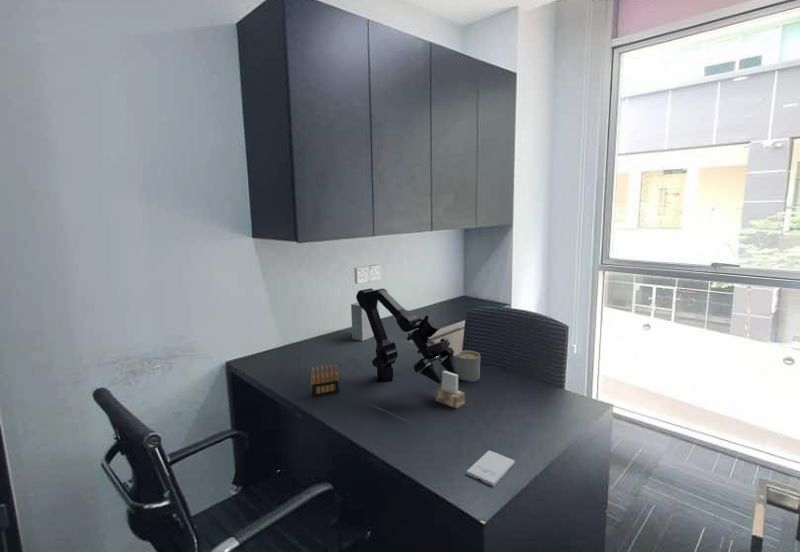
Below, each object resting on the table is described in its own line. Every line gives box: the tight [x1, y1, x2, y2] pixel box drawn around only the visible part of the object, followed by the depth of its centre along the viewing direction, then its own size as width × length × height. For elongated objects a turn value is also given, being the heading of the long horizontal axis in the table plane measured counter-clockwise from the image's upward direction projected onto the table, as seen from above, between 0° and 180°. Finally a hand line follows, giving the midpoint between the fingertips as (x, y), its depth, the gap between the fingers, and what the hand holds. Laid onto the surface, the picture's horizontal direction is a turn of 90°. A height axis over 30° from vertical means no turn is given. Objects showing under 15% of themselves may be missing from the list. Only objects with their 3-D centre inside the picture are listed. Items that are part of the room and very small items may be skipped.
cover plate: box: [441, 370, 459, 395], centre depth 148 cm, size 6×2×11 cm, turn 48°
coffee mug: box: [454, 350, 481, 383], centre depth 173 cm, size 13×10×10 cm
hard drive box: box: [350, 301, 380, 342], centre depth 227 cm, size 16×8×20 cm, turn 144°
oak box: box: [434, 386, 466, 409], centre depth 149 cm, size 10×5×4 cm, turn 48°
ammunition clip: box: [310, 362, 340, 398], centre depth 156 cm, size 11×2×12 cm, turn 113°
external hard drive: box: [465, 450, 516, 487], centre depth 111 cm, size 2×8×12 cm
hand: (447, 379), depth 149 cm, fingers open, 9 cm apart
